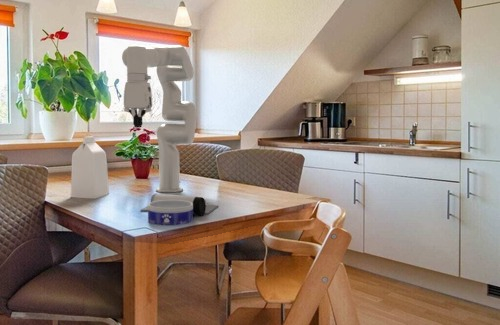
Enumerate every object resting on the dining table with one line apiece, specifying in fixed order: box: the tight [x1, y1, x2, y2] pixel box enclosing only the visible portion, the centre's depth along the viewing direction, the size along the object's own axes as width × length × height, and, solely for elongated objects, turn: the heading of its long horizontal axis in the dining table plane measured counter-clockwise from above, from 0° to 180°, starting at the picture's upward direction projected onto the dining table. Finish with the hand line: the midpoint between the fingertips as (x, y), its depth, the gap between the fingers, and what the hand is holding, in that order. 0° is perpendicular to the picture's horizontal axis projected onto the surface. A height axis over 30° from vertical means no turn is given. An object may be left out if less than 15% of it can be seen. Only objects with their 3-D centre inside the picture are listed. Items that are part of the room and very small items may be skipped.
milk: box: [70, 135, 110, 199], centre depth 208 cm, size 12×12×26 cm
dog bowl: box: [147, 200, 194, 226], centre depth 162 cm, size 15×15×6 cm
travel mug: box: [149, 193, 207, 217], centre depth 173 cm, size 6×7×20 cm
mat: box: [140, 204, 219, 216], centre depth 182 cm, size 15×26×1 cm, turn 80°
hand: (137, 127), depth 182 cm, fingers closed
